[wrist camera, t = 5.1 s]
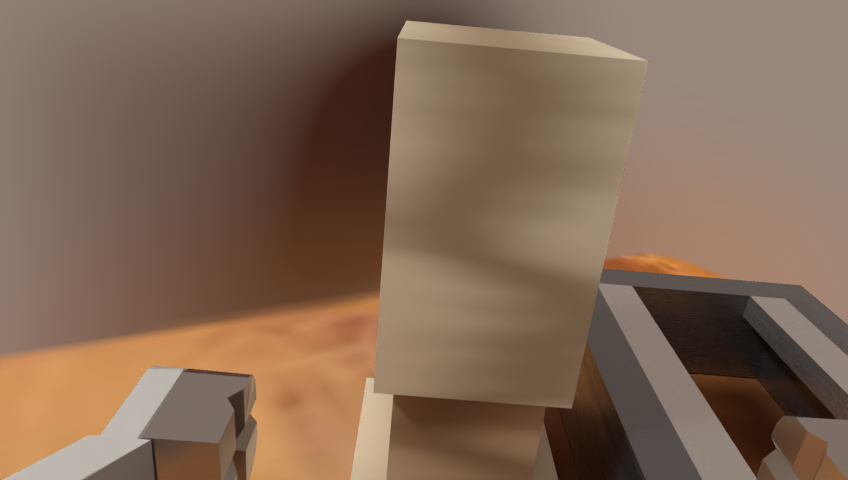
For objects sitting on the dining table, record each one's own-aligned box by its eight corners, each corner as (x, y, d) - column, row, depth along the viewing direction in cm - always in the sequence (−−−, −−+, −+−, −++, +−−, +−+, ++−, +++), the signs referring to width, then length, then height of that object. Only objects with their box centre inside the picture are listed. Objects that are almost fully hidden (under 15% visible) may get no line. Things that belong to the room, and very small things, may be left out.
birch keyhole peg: (527, 436, 23) (603, 37, 18) (557, 581, 17) (682, 66, 12) (363, 423, 23) (389, 18, 17) (342, 566, 17) (370, 38, 12)
